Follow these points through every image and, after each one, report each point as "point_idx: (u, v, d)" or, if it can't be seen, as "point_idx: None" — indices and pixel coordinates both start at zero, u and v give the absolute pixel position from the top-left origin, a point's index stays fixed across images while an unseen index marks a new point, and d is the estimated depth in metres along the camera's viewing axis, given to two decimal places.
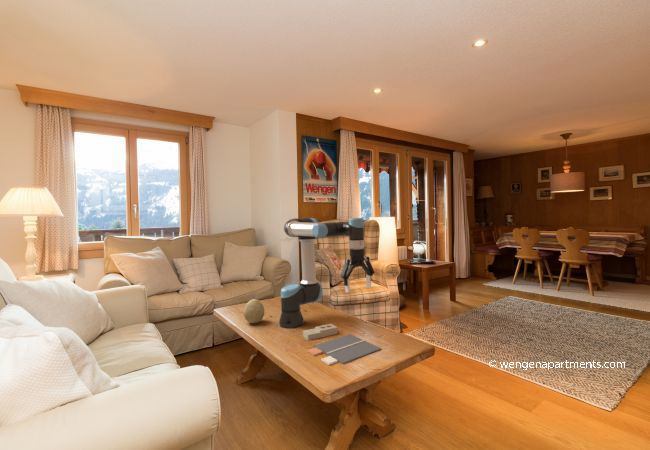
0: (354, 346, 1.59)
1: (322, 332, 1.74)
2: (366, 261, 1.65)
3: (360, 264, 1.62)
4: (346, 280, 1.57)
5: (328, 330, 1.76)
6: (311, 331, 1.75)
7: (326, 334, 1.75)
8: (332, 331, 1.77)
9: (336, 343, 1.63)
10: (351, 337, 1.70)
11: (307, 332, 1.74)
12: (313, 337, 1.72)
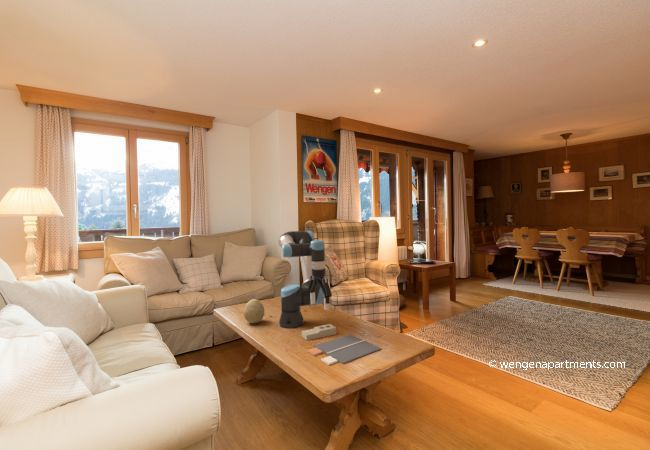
0: (354, 346, 1.59)
1: (321, 332, 1.74)
2: None
3: (318, 283, 1.75)
4: None
5: (327, 330, 1.75)
6: (310, 331, 1.75)
7: (325, 334, 1.75)
8: (331, 331, 1.76)
9: (336, 343, 1.63)
10: (351, 337, 1.70)
11: (306, 332, 1.74)
12: (312, 337, 1.71)
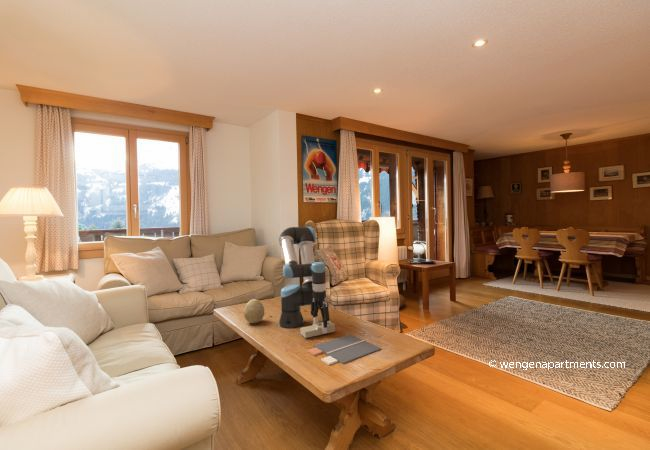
0: (354, 346, 1.59)
1: (319, 329, 1.74)
2: None
3: None
4: None
5: None
6: (309, 328, 1.75)
7: None
8: (329, 328, 1.77)
9: (336, 343, 1.63)
10: (351, 337, 1.70)
11: (304, 329, 1.74)
12: (310, 334, 1.72)
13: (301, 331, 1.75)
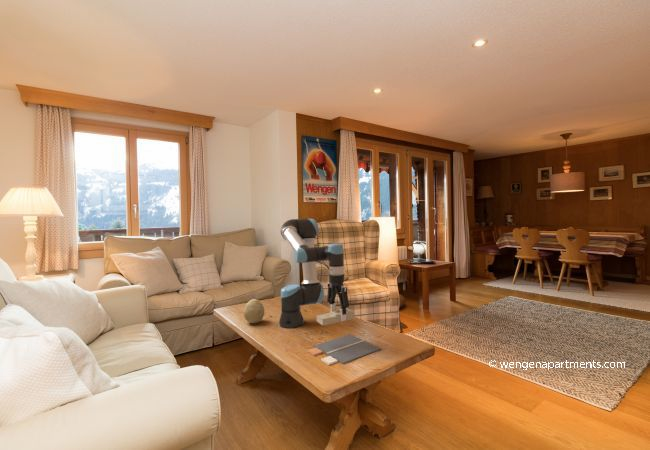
0: (354, 346, 1.59)
1: (338, 316, 1.59)
2: None
3: None
4: None
5: None
6: (326, 315, 1.61)
7: None
8: (348, 315, 1.62)
9: (336, 343, 1.63)
10: (351, 337, 1.70)
11: (321, 316, 1.59)
12: (328, 321, 1.57)
13: (317, 319, 1.60)
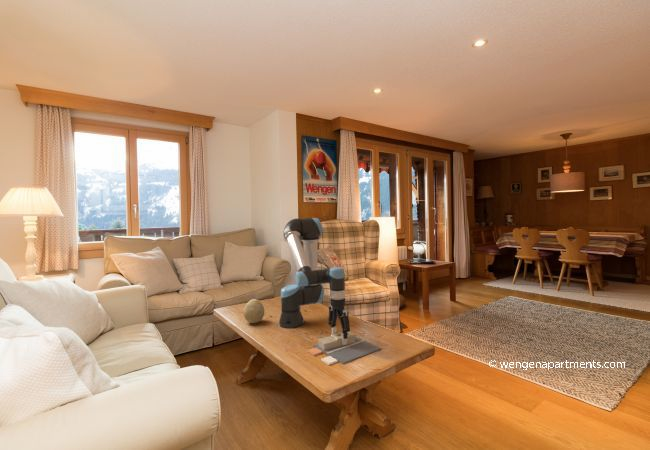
0: (354, 346, 1.59)
1: (339, 340, 1.59)
2: None
3: None
4: (331, 327, 1.67)
5: None
6: (327, 339, 1.61)
7: None
8: (349, 339, 1.62)
9: None
10: None
11: (323, 340, 1.59)
12: (330, 346, 1.57)
13: (319, 343, 1.61)
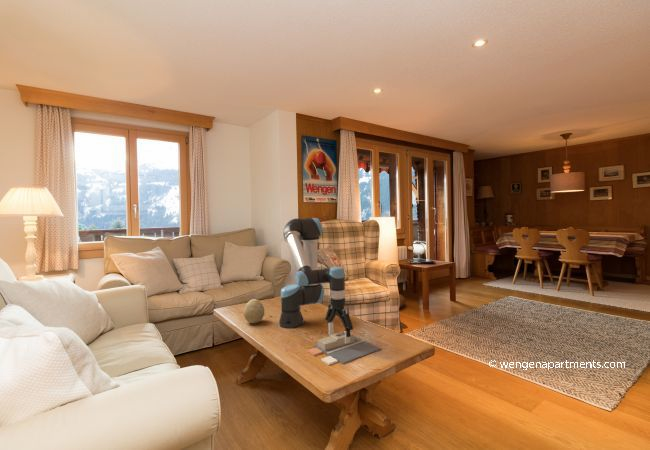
0: (354, 346, 1.59)
1: (339, 340, 1.60)
2: None
3: (337, 314, 1.62)
4: None
5: None
6: (327, 339, 1.61)
7: (343, 342, 1.61)
8: None
9: None
10: None
11: (323, 341, 1.59)
12: (330, 346, 1.57)
13: (319, 343, 1.60)
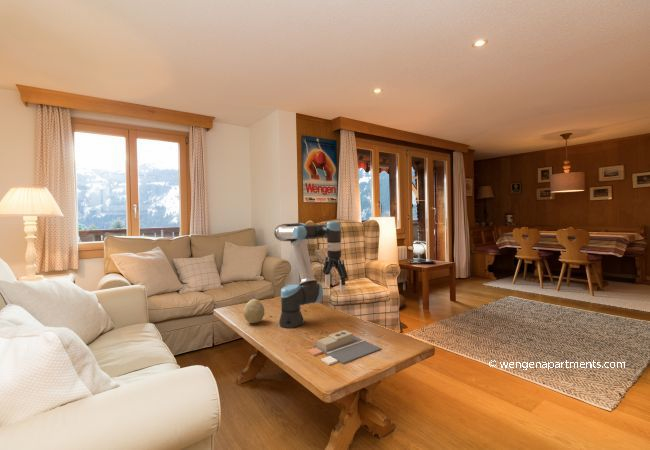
0: (354, 346, 1.59)
1: (339, 340, 1.60)
2: None
3: (333, 265, 1.72)
4: None
5: (345, 337, 1.62)
6: (327, 340, 1.60)
7: (343, 342, 1.61)
8: (348, 338, 1.64)
9: None
10: None
11: (323, 341, 1.58)
12: (331, 346, 1.57)
13: (319, 344, 1.59)
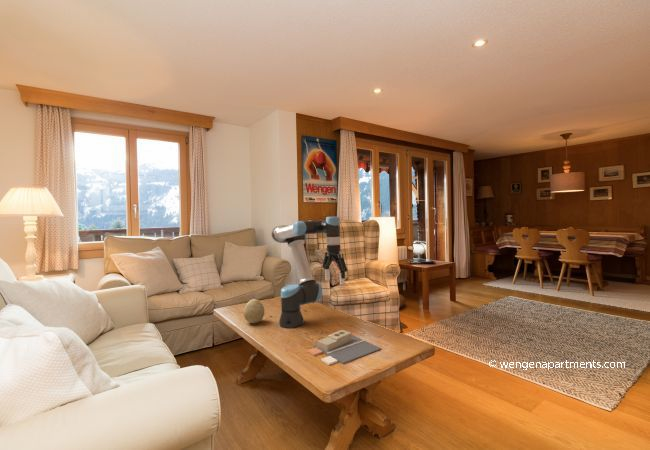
0: (354, 346, 1.59)
1: (339, 340, 1.60)
2: None
3: (333, 259, 1.76)
4: (325, 269, 1.83)
5: (344, 337, 1.63)
6: (327, 340, 1.60)
7: (342, 341, 1.62)
8: (347, 337, 1.64)
9: None
10: None
11: (324, 342, 1.57)
12: (332, 347, 1.56)
13: (319, 345, 1.58)
